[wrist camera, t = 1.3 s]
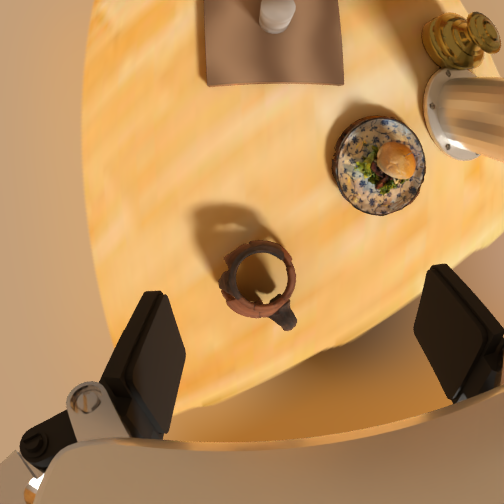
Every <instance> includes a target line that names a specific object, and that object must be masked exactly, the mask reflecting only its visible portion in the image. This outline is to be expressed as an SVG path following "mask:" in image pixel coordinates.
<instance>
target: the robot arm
mask: <svg viewBox="0 0 504 504" xmlns="http://www.w3.org/2000/svg"><path fill="white" fill-rule="evenodd" d="M429 105H430V106H429ZM423 109H424V117H425V121H426V125H427V128H428V131H429V133H430V135H431V137H432V139H433V141H434V142H435V144H436V145H437V146H438V147H439V149H440V150H441V151H443V152H444V153H445V154H446V155H448V156H450V157H452V158H454V159H457V160H462V161H469V160H473V159H475V158H477V157H479V156H480V155H483V156H486V157H489V158H492V159H495V160H497V161H500V162H503V163H504V78H502V77H477V76H476V75H474V74H473V73H472V72H470V71H469V70H467V69H466V70H460V71H452V70H449V69H447V68H442V69H440V70H438V71H437V72H435V73H434V74H433V75H432V77H431V78H430V80H429V81H428V84H427V86H426V89H425V93H424V102H423ZM414 334H415V336H416V338H417V340H418V342H419V344H420V345H421V347H422V349H423V351H424V353H425V355H426V356H427V358H428V360H429V362H430V364H431V366H432V368H433V370H434V372H435V374H436V376H437V378H438V380H439V382H440V384H441V386H442V388H443V390H444V392H445V394H446V396H447V398H448V399H450V400H452V402H453V404H452V405H450V406H447V407H444V408H441V409H438V410H435V411H432V412H428V413H425V414H422V415H418V416H415V417H412V418H408V419H404V420H401V421H396V422H393V423H389V424H384V425H380V426H376V427H371V428H366V429H361V430H356V431H350V432H344V433H338V434H332V435H326V436H318V437H310V438H301V439H292V440H279V441H263V442H188V441H171V440H163V435H164V433H166V434H167V433H168V431H169V428H170V423H171V418H172V414H173V410H174V405H175V401H176V397H177V392H178V388H179V384H180V379H181V375H182V371H183V367H184V363H185V358H186V352H185V348H184V345H183V342H182V339H181V336H180V333H179V330H178V327H177V324H176V321H175V318H174V315H173V312H172V308H171V305H170V302H169V299H168V296H167V295H166V294H165V295H163V293H162V292H161V291H146V292H144V294H143V296H142V297H141V299H140V301H139V303H138V305H137V307H136V309H135V311H134V313H133V315H132V317H131V318H130V320H129V322H128V324H127V326H126V328H125V330H124V331H123V333H122V335H121V337H120V339H119V341H118V343H117V345H116V347H115V349H114V351H113V353H112V356H111V358H110V360H109V362H108V364H107V366H106V368H105V370H104V372H103V375H102V377H101V379H100V381H99V383H98V382H93V381H91V382H84V383H81V384H79V385H78V386H76V387H75V388H74V389H73V390H72V391H71V392H70V394H69V395H68V397H67V401H66V405H67V410H65V411H63V412H61V413H59V414H57V415H55V416H54V417H52V418H50V419H48V420H46V421H44V422H43V423H40V424H38V425H36V426H34V427H33V428H31V429H29V430H28V431H26V433H25V434H24V435H23V437H22V439H21V441H20V452H17V451H16V450H15V451H14V452H13V453H11V454H10V455H9V456H8V457H7V458H6V459H5V460H4V461H3V462H2V463H1V464H0V504H504V338H503V335H504V328H503V327H502V326H501V325H500V323H499V322H498V321H497V320H496V319H495V317H494V316H493V315H492V314H491V313H490V311H489V310H488V309H487V308H486V307H485V306H484V304H483V303H482V302H481V301H480V300H479V298H478V297H477V296H476V295H475V294H474V293H473V292H472V291H471V289H470V288H469V287H468V286H467V285H466V284H465V283H464V282H463V281H462V280H461V279H460V278H459V276H458V275H457V274H456V273H455V272H454V271H453V270H452V269H451V268H450V267H449V266H448V265H447V264H438V265H433V266H431V268H430V270H428V271H427V273H426V278H425V283H424V287H423V291H422V296H421V300H420V304H419V308H418V312H417V316H416V320H415V323H414Z"/></svg>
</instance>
